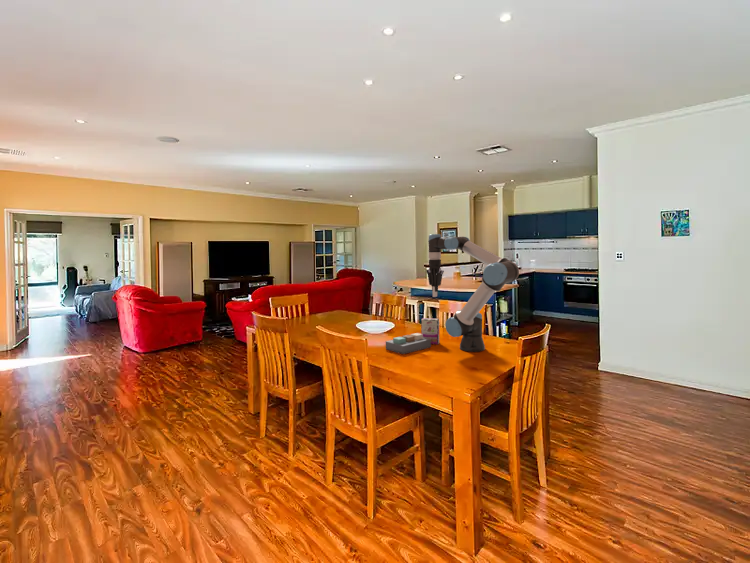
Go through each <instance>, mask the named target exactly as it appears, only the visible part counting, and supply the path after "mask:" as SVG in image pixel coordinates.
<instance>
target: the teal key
mask: <svg viewBox="0 0 750 563" xmlns="http://www.w3.org/2000/svg"><path fill="white" fill-rule="evenodd" d="M392 338H393V339H392V340H393V343H396V344H402V343H406V338H403V337H402V336H397V337H392Z"/></svg>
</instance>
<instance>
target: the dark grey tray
mask: <svg viewBox="0 0 750 563" xmlns="http://www.w3.org/2000/svg"><path fill="white" fill-rule="evenodd" d="M430 348H432V344H431V339H427V338H423V339H420V340H415V341H411V342H406V343H402V344H396V343H393V339H390V340H386V341H385V350H388V351H390V352H394V353H397V354H401V355H405V354H409V353H413V352H417V351H422V350H424V349H430Z"/></svg>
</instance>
